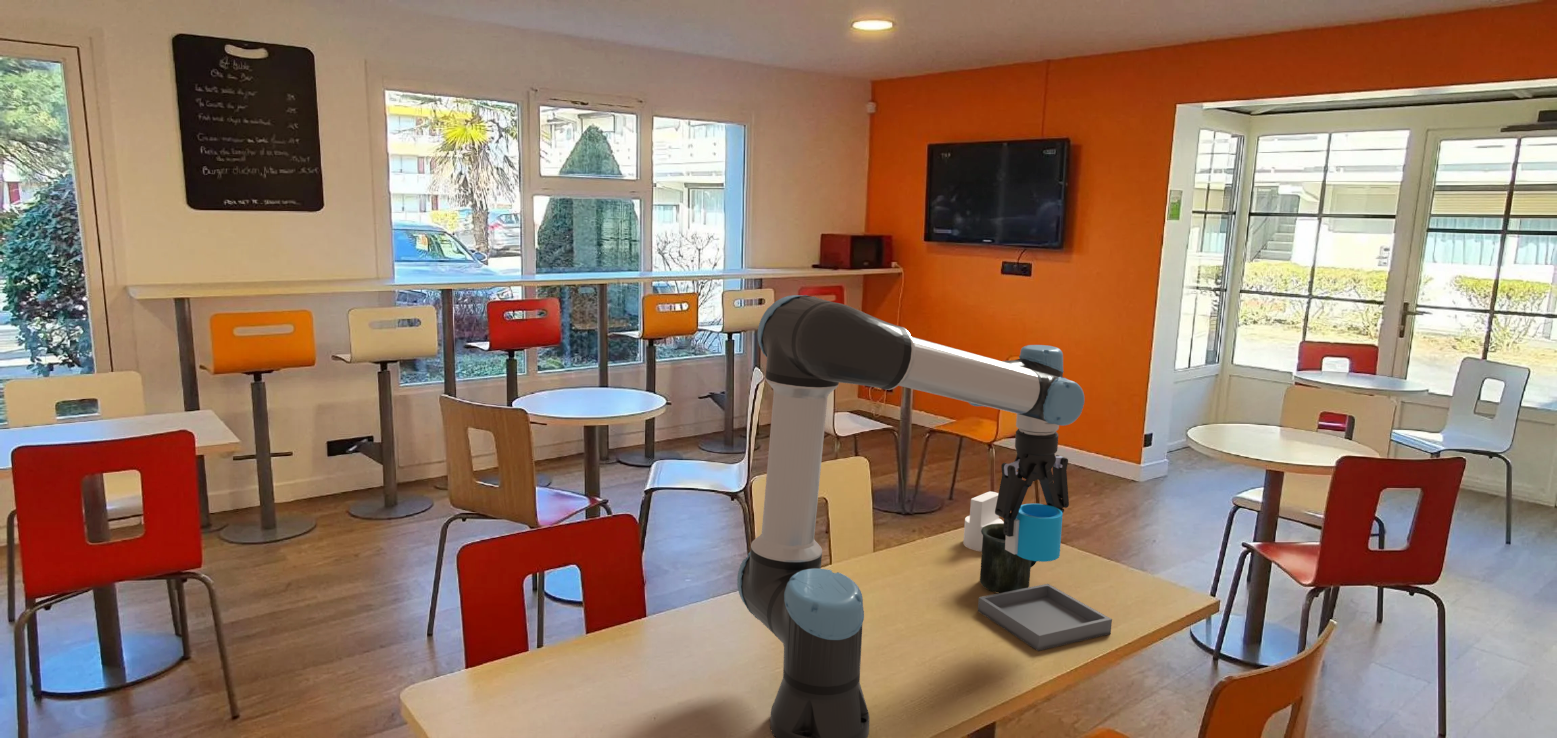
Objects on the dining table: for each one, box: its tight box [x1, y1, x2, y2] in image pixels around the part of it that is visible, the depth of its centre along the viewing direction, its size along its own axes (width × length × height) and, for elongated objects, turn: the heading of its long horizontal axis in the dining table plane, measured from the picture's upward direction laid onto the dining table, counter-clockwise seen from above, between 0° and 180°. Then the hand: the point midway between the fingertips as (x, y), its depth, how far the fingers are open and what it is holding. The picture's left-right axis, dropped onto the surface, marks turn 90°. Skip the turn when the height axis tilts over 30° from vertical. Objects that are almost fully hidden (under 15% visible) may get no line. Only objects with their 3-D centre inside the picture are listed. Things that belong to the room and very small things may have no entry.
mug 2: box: [1016, 503, 1064, 563], centre depth 171 cm, size 12×8×8 cm
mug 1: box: [979, 523, 1038, 594], centre depth 195 cm, size 11×15×12 cm
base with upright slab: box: [962, 491, 1004, 553], centre depth 217 cm, size 9×9×12 cm
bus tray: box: [977, 583, 1113, 652], centre depth 178 cm, size 18×18×3 cm
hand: (1029, 547), depth 172 cm, fingers closed on mug 2, 8 cm apart
